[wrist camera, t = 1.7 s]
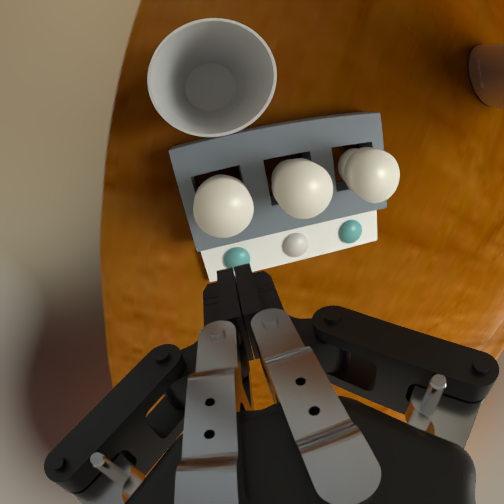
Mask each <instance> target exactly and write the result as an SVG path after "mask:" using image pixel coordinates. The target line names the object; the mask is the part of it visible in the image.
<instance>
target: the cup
mask: <svg viewBox="0 0 504 504" xmlns="http://www.w3.org/2000/svg"><path fill="white" fill-rule="evenodd" d="M276 81H277V70H276V64H275V60H274V57H273V54H272V52H271V50H270V48H269V47H268V45H267V44H266V42H265V41H264V40H263V39H262V38H261V37H260V36H259V35H258V34H257V33H256V32H255V31H253V30H252V29H250V28H249V27H247V26H245V25H243V24H241V23H238V22H236V21H232V20H228V19H221V18H208V19H201V20H196V21H193V22H190V23H187V24H185V25H183V26H181V27H179V28H178V29H176V30H175V31H173V32H172V33H171V34H169V35H168V36H167V37H166V38H165V39H164V40H163V41H162V42H161V44H160V45H159V46H158V48H157V49H156V51H155V53H154V54H153V57H152V59H151V62H150V65H149V69H148V77H147V83H148V91H149V95H150V98H151V101H152V103H153V105H154V107H155V108H156V110H157V111H158V113H159V114H160V115H161V116H162V118H163V119H164V120H165V121H167V122H168V123H169V124H170V125H172V126H173V127H175V128H176V129H178V130H180V131H182V132H185V133H188V134H191V135H195V136H200V137H219V136H225V135H229V134H232V133H235V132H237V131H240V130H242V129H244V128H245V127H247V126H249V125H250V124H251V123H253V122H254V121H255V120H256V119H257V118H259V117H260V116H261V114H262V113H263V112H264V111H265V109H266V108H267V107H268V105H269V103H270V101H271V99H272V97H273V94H274V91H275V87H276Z"/></svg>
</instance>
